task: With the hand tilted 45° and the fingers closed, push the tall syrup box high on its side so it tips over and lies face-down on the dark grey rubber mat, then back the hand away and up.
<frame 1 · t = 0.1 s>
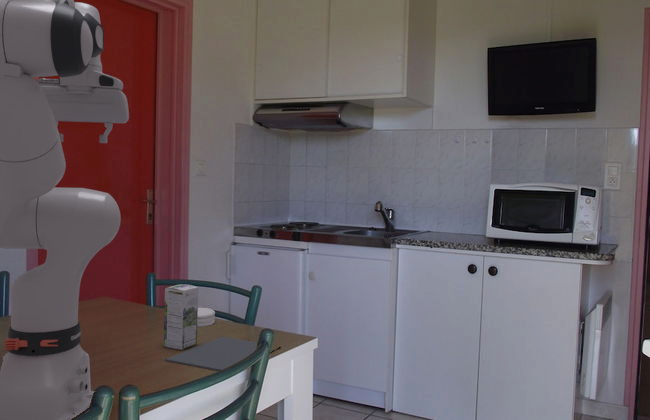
hand: (81, 142, 143), 48 cm above the table, tool pointing down, fingers open, 8 cm apart
white round tub: (196, 324, 178), on the table
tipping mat: (225, 354, 149), on the table
syrup box: (180, 346, 154), on the table
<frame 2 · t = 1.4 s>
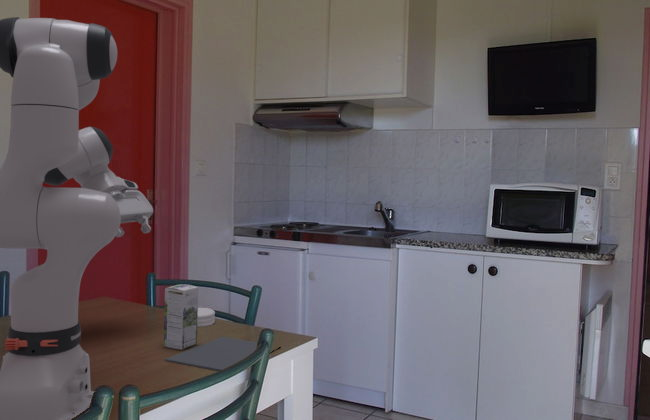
hand: (134, 233, 159), 26 cm above the table, tool tilted 45°, fingers open, 8 cm apart
nothing on the table moved.
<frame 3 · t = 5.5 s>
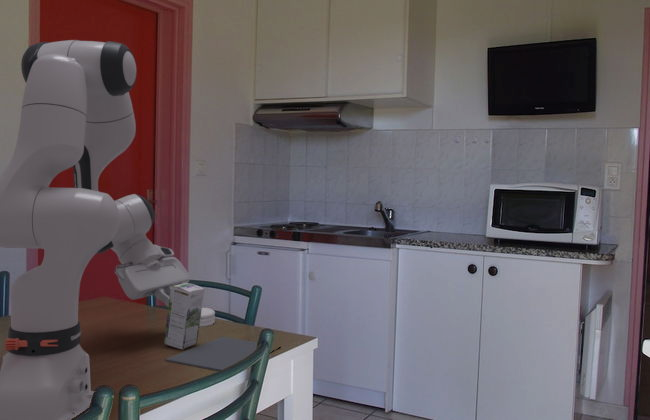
hand: (173, 304, 155), 10 cm above the table, tool tilted 45°, fingers closed
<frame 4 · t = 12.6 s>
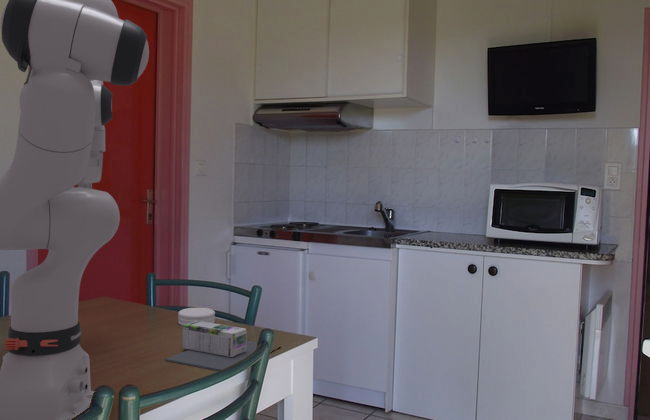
hand: (85, 203, 148), 34 cm above the table, tool pointing down, fingers closed
syrup box: (189, 334, 153), point 3 cm above the table, touching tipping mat
everything else where it was.
at the end: syrup box tilted 89°; syrup box touching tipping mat; the gripper is holding nothing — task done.
